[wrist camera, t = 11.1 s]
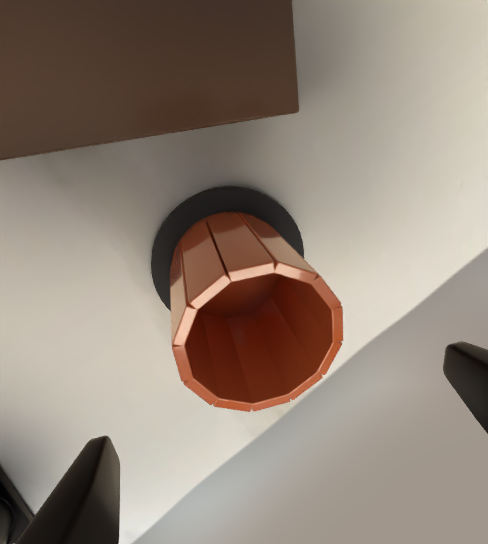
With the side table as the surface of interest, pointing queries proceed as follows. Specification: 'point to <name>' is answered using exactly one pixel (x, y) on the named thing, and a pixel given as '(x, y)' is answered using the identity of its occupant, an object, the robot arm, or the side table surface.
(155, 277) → the coaster
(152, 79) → the shelf
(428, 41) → the side table surface
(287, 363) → the cup
